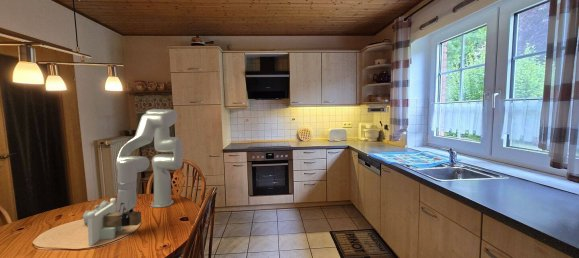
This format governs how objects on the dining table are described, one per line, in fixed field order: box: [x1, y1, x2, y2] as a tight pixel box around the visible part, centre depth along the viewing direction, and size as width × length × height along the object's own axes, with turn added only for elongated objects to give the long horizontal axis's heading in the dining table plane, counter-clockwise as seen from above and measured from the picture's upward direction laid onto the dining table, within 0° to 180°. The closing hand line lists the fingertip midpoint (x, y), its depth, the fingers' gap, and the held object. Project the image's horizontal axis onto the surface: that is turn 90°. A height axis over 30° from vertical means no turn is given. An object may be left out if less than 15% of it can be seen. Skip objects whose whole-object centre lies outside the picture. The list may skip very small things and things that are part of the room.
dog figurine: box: [82, 200, 110, 227], centre depth 130 cm, size 5×13×11 cm, turn 147°
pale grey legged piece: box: [87, 197, 124, 247], centre depth 117 cm, size 20×7×14 cm, turn 10°
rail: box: [104, 211, 142, 227], centre depth 118 cm, size 14×4×5 cm, turn 100°
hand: (127, 223), depth 119 cm, fingers closed on rail, 4 cm apart
